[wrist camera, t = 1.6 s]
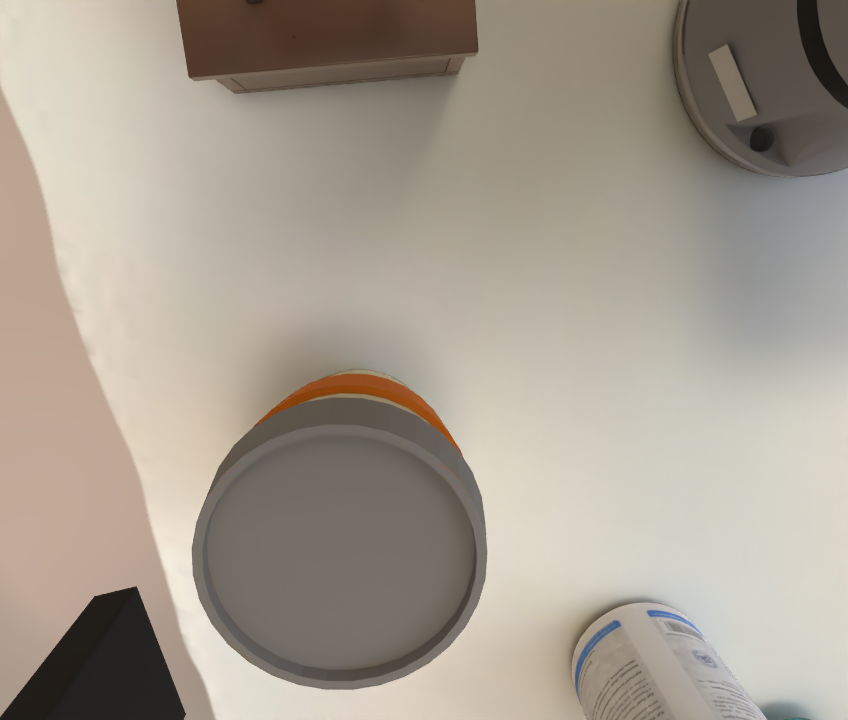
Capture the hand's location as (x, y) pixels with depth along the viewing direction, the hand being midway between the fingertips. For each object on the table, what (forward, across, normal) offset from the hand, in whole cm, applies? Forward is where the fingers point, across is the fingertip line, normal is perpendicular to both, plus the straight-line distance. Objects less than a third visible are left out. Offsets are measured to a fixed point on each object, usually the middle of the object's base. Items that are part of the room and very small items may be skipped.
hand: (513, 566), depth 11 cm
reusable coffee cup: (+29, +6, +7) cm, 30 cm away
